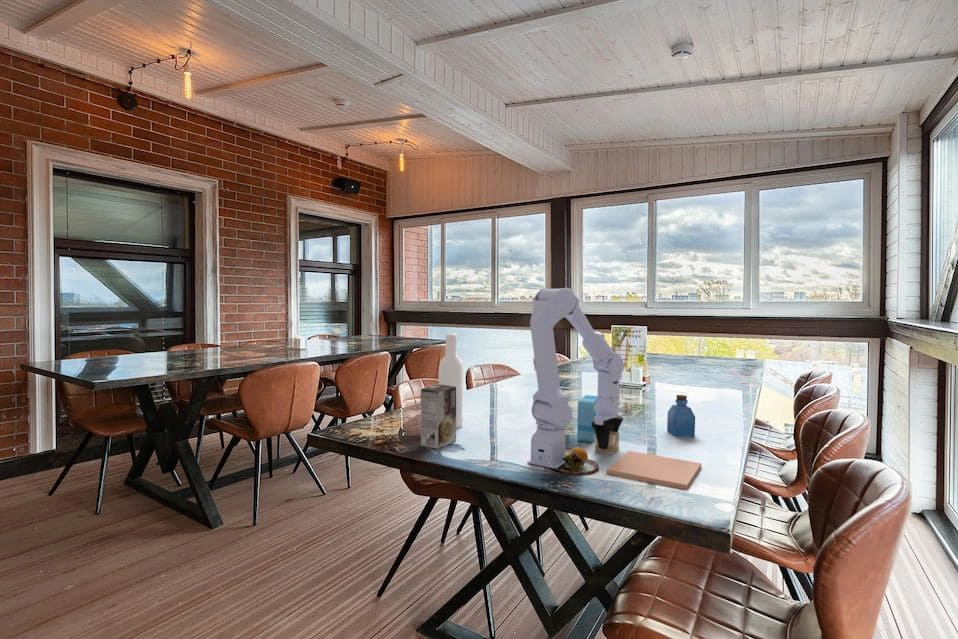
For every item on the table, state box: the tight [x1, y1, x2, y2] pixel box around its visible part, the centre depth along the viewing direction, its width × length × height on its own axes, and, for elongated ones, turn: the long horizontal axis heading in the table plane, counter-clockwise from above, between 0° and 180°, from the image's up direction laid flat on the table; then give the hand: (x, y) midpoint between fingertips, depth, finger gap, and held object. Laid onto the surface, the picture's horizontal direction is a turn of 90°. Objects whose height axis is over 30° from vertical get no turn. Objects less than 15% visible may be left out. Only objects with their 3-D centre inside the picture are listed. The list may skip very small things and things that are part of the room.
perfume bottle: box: [666, 394, 696, 438], centre depth 157 cm, size 6×6×12 cm
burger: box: [555, 446, 600, 476], centre depth 124 cm, size 12×12×8 cm
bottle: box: [438, 333, 464, 430], centre depth 163 cm, size 8×8×30 cm
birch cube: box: [594, 431, 620, 456], centre depth 138 cm, size 5×5×5 cm
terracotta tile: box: [606, 450, 702, 490], centre depth 123 cm, size 18×18×1 cm
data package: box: [576, 394, 597, 443], centre depth 151 cm, size 12×4×12 cm, turn 156°
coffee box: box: [420, 384, 457, 450], centre depth 143 cm, size 9×6×16 cm
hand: (607, 445), depth 138 cm, fingers open, 6 cm apart
